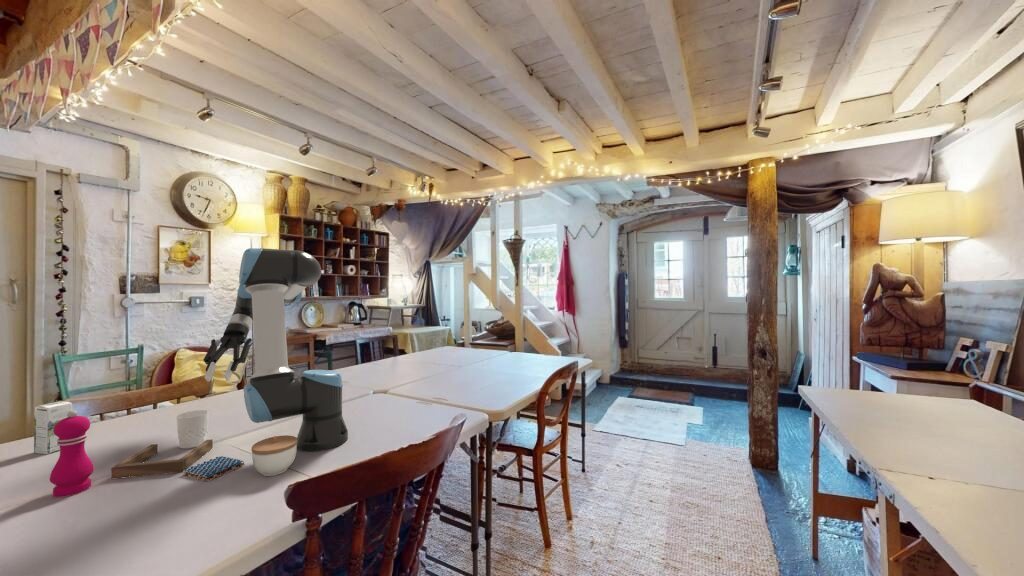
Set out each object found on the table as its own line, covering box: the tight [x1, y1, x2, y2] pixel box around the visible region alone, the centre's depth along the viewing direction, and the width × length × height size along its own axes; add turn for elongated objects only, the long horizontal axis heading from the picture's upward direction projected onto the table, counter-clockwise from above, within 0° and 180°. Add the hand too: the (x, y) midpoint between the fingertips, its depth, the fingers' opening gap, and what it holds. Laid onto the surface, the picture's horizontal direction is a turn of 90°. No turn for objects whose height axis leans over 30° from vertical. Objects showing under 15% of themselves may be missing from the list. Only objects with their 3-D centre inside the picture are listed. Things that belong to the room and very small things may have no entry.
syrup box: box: [33, 400, 73, 455], centre depth 119 cm, size 6×6×14 cm
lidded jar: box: [251, 435, 298, 477], centre depth 105 cm, size 11×11×9 cm
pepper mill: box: [49, 409, 95, 498], centre depth 95 cm, size 7×7×20 cm
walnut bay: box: [110, 438, 214, 480], centre depth 110 cm, size 16×16×3 cm
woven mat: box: [182, 455, 246, 482], centre depth 105 cm, size 10×11×2 cm
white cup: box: [176, 409, 209, 450], centre depth 123 cm, size 8×8×10 cm
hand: (216, 378), depth 135 cm, fingers open, 5 cm apart
